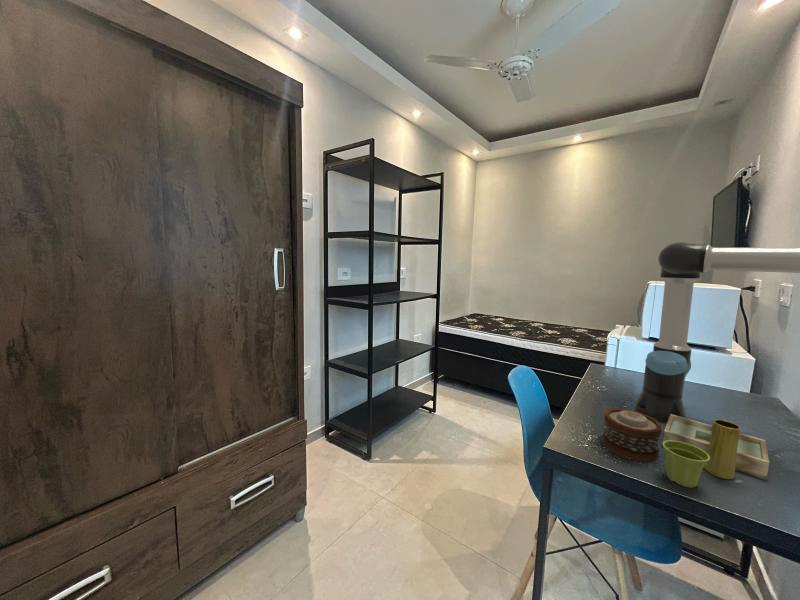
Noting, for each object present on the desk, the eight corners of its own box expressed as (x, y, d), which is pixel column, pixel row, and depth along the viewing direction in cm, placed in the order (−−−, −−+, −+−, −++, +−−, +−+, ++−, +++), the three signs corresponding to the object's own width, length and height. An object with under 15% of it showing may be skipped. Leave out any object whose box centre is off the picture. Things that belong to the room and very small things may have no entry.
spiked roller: (664, 413, 101) (663, 433, 90) (660, 446, 102) (658, 469, 91) (608, 399, 110) (601, 415, 99) (605, 429, 112) (597, 448, 100)
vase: (712, 463, 94) (719, 417, 92) (740, 477, 88) (748, 427, 86) (698, 467, 92) (705, 420, 90) (725, 481, 86) (734, 431, 84)
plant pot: (652, 466, 92) (656, 437, 91) (692, 472, 90) (697, 443, 89) (668, 488, 84) (673, 456, 82) (713, 496, 81) (719, 464, 80)
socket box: (662, 445, 103) (664, 430, 102) (669, 427, 114) (670, 414, 113) (766, 480, 87) (769, 462, 87) (762, 455, 98) (765, 440, 98)
